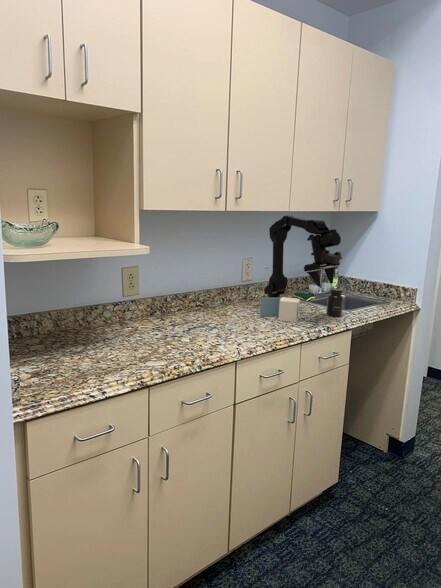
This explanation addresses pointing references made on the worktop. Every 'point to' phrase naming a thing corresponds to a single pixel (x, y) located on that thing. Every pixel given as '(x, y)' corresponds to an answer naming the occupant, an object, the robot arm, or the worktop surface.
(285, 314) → the carton
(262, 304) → the flap
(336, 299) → the supplement bottle
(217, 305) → the worktop surface
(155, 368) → the worktop surface
